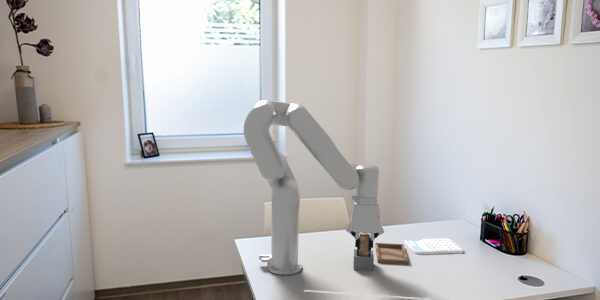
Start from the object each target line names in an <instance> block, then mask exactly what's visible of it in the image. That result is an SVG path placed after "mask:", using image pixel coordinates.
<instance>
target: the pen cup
mask: <svg viewBox="0 0 600 300" xmlns="http://www.w3.org/2000/svg"><path fill="white" fill-rule="evenodd" d="M374 261H375V256H374V250H372V249H371V251H369V257H366V256H359V250H357V248H355V249H353V271H366V272H374V265H375V264H374Z"/></svg>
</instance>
